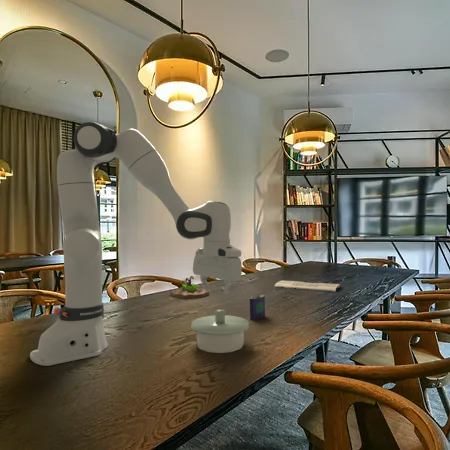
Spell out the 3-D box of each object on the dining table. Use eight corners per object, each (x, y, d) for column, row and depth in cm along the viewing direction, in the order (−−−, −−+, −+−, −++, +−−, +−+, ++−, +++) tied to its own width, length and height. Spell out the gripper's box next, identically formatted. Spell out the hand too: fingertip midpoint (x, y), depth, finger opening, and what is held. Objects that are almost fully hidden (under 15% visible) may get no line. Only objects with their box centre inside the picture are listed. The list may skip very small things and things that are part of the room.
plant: (184, 301, 184) (184, 279, 184) (165, 295, 199) (165, 275, 199) (214, 295, 197) (214, 275, 197) (194, 290, 212) (194, 272, 212)
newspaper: (340, 287, 220) (340, 283, 220) (335, 293, 203) (335, 288, 203) (282, 283, 237) (282, 279, 237) (273, 288, 219) (273, 284, 219)
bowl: (219, 356, 106) (219, 336, 106) (188, 344, 117) (188, 326, 117) (252, 344, 117) (252, 326, 117) (220, 334, 128) (220, 317, 128)
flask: (261, 315, 154) (261, 290, 154) (267, 316, 152) (267, 291, 152) (248, 319, 147) (248, 294, 147) (254, 320, 145) (253, 294, 145)
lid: (220, 339, 104) (220, 321, 104) (179, 326, 117) (179, 311, 117) (260, 325, 117) (260, 310, 117) (220, 315, 131) (220, 301, 131)
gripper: (189, 247, 123) (187, 287, 123) (231, 252, 109) (229, 297, 108) (203, 247, 128) (201, 286, 127) (245, 251, 113) (243, 295, 113)
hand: (214, 291), depth 118 cm, fingers open, 8 cm apart
